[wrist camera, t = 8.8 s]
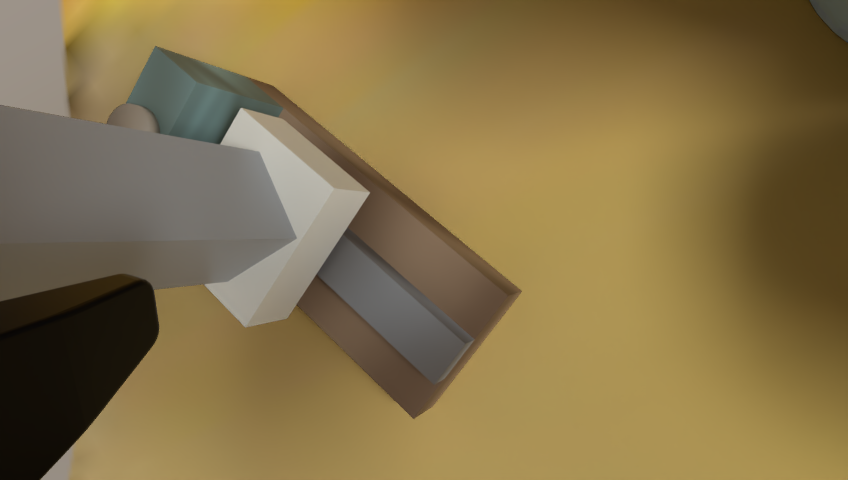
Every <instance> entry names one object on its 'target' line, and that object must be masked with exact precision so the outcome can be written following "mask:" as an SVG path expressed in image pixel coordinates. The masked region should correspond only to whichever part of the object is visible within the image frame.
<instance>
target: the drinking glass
mask: <svg viewBox="0 0 848 480" xmlns="http://www.w3.org/2000/svg"><path fill="white" fill-rule="evenodd" d="M809 1H810V2H811V4H812V6H813V7H814V9H815V11H816V12H817V14H818V15H819V16H820V17H821V18H822V20H823V21H824V22H825V23H826V24H827V25H828V26H829V27H830V28H831V30H832V31H833V32H834V33H836V34H837V35H838V36H840V37H841V38H842V39H843V40H845V41H846V42H847V43H848V0H809Z"/></svg>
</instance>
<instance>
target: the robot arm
mask: <svg viewBox="0 0 848 480" xmlns="http://www.w3.org/2000/svg"><path fill="white" fill-rule="evenodd" d="M158 333H159V322H158V315H157V308H156V302H155V295H154V289H153V287H152V285H151V283H150V282H148V281H147V280H145V279H142V278H139V277H136V276H133V275H130V274H116V275H111V276H107V277H103V278H98V279H94V280H90V281H85V282H81V283H77V284H72V285H68V286H64V287H60V288H55V289H51V290H47V291H42V292H38V293H34V294H29V295H25V296H21V297H16V298H12V299H8V300H3V301H0V480H40V479H41V478H42V477H43V476H44V475H45V474H46V473H47V472H48V471H49V470H50V469H51V468H52V467H53V465H54V464H55V463H56V462H57V461H58V460H59V459H60V458H61V457H62V456H63V455H64V454H65V453H66V452H67V451H68V450H69V449H70V447H71V446H72V445H73V444H74V443H75V442H76V441H77V440H78V439H79V438H80V437H81V435H82V434H83V433H84V432H85V431H86V430H87V429H88V427H89V426H90V425H91V424H92V423H93V421H94V420H95V419H96V418H97V416H98V415H99V414H100V413H101V411H102V410H103V409H104V408H105V406H106V405H107V404H108V402H109V401H110V400H111V399H112V397H113V396H114V395H115V394H116V392H117V391H118V390H119V388H120V387H121V386H122V385H123V383H124V382H125V381H126V379H127V378H128V377H129V376H130V374H131V373H132V372H133V371H134V369H135V368H136V367H137V365H138V364H139V363H140V362H141V360H142V359H143V358H144V356H145V355H146V354H147V353H148V351H149V350H150V349H151V347H152V346H153V345H154V343H155V341H156V339H157V337H158Z"/></svg>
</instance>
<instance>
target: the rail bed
mask: <svg viewBox="0 0 848 480" xmlns="http://www.w3.org/2000/svg"><path fill="white" fill-rule="evenodd" d="M240 108H244V109H248V110H252V111H255V112H259V113H263V114H266V115H270V116H274V117H278V118H281V119H284V120H285V121H286V122H287V123H288V124H290V125H291V126H292V127H293V128H294V129H296V130H297V131H298V132H299V133H300V134H301V135H303V136H304V137H305V138H306V139H307V140H309V141H310V142H311V143H312V144H313V145H314V146H316V147H317V148H318V149H319V150H320V151H322V152H323V153H324V154H325V155H326V156H328V157H329V158H330V159H331V160H332V161H333V162H335V163H336V164H337V165H338V166H339V167H341V168H342V169H343V170H344V171H345V172H346V173H348V174H349V175H350V176H351V177H352V178H354V179H355V180H356V181H357V182H358V183H360V184H361V185H362V186H363V187H364V188H365V189H367V190H368V191H369V192H370V194H369V195H368V197H367V198H366V200H365V201H364V203H363V204H362V206H361V207H360V209H359V210H358V212H357V213H356V215H355V216H354V218H353V219H352V221H351V223H350V224H349V226H348V227H347V229H346V230H345V232H344V233H343V235H342V236H341V238H340V239H339V241H338V242H337V244H336V245H335V247H334V248H333V250H332V251H331V253H330V254H329V256H328V257H327V259H326V260H325V262H324V263H323V265H322V266H321V268H320V270H319V271H318V273H317V274H316V276H315V277H314V279H313V280H312V282H311V283H310V285H309V286H308V288H307V289H306V291H305V292H304V294H303V295H302V297H301V298H300V300H299V301H298V303H297V305H298V306H299V307H300V308H301V309H302V310H303V311H304V312H305V313H306V314H307V315H308V316H309V317H310V318H311V319H312V320H313V321H314V322H315V323H316V324H317V325H318V326H319V327H320V328H321V329H322V330H323V331H324V332H325V333H326V334H327V335H328V336H329V337H330V338H331V339H332V340H333V341H334V342H335V343H336V344H337V345H338V346H340V347H341V348H342V349H343V350H344V351H345V352H346V353H347V354H348V355H349V356H350V357H351V358H352V359H353V360H354V361H355V362H356V363H357V364H358V365H359V366H360V367H361V368H362V369H363V370H364V371H365V372H366V373H367V374H368V375H369V376H370V377H371V378H372V379H373V380H374V381H375V382H376V383H377V384H378V385H379V386H380V387H381V388H383V389H384V390H385V391H386V392H387V393H388V394H389V395H390V396H391V397H392V398H393V399H394V400H395V401H396V402H397V403H398V404H399V405H400V406H401V407H402V408H403V409H404V410H405V411H406V412H407V413H408V414H409V415H410V416H411V417H412V418H413V419H414V418H416V417H417V416H419V415H420V414H422V413H423V412H425V411H426V410H428V409H429V408H431V407H433V405H434V404H435V403H436V401H437V400H438V399H439V398H440V396H441V395H442V394H443V392H444V391H445V390H446V389H447V387H448V386H449V385H450V383H451V382H452V381H453V380H454V378H455V377H456V376H457V374H458V373H459V372H460V370H461V369H462V368H463V367H464V365H465V364H466V363H467V361H468V360H469V359H470V358H471V356H472V355H473V354H474V352H475V351H476V350H477V349H478V347H479V346H480V345H481V343H482V342H483V341H484V340H485V338H486V337H487V336H488V334H489V333H490V332H491V331H492V329H493V328H494V327H495V325H496V324H497V323H498V322H499V320H500V319H501V318H502V316H503V315H504V314H505V313H506V311H507V310H508V309H509V307H510V306H511V305H512V303H513V302H514V301H515V300H516V298H517V297H518V296H519V294H520V293H521V292H522V291H521V290H520V289H518V288H517V287H516V286H515V285H514V284H512V283H511V282H510V281H509V280H508V279H506V278H505V277H504V276H503V275H502V274H500V273H499V272H498V271H497V270H495V269H494V268H493V267H492V266H491V265H489V264H488V263H487V262H486V261H485V260H483V259H482V258H481V257H480V256H479V255H477V254H476V253H475V252H474V251H472V250H471V249H470V248H469V247H468V246H466V245H465V244H464V243H463V242H462V241H460V240H459V239H458V238H457V237H455V236H454V235H453V234H452V233H451V232H449V231H448V230H447V229H446V228H445V227H443V226H442V225H441V224H440V223H439V222H437V221H436V220H435V219H434V218H432V217H431V216H430V215H429V214H428V213H426V212H425V211H424V210H423V209H422V208H420V207H419V206H418V205H417V204H415V203H414V202H413V201H412V200H411V199H409V198H408V197H407V196H406V195H405V194H403V193H402V192H401V191H400V190H399V189H397V188H396V187H395V186H394V185H392V184H391V183H390V182H389V181H388V180H386V179H385V178H384V177H383V176H382V175H380V174H379V173H378V172H377V171H376V170H374V169H373V168H372V167H371V166H369V165H368V164H367V163H366V162H365V161H363V160H362V159H361V158H360V157H359V156H357V155H356V154H355V153H354V152H352V151H351V150H350V149H349V148H348V147H346V146H345V145H344V144H343V143H342V142H340V141H339V140H338V139H337V138H336V137H334V136H333V135H332V134H331V133H329V132H328V131H327V130H326V129H325V128H323V127H322V126H321V125H320V124H319V123H317V122H316V121H315V120H314V119H312V118H311V117H310V116H309V115H308V114H306V113H305V112H304V111H303V110H302V109H300V108H299V107H298V106H297V105H296V104H294V103H293V102H292V101H291V100H289V99H288V98H287V97H286V96H285V95H283V94H282V93H281V92H280V91H279V90H277V89H276V88H275V87H274V86H272V85H269V84H266V83H263V82H260V81H257V80H254V79H251V78H248V77H245V76H242V75H239V74H236V73H233V72H230V71H227V70H224V69H222V68H219V67H216V66H213V65H210V64H207V63H204V62H201V61H198V60H195V59H192V58H189V57H186V56H183V55H180V54H177V53H174V52H171V51H168V50H166V49H163V48H160V47H157V46H155V48H154V50H153V52H152V54H151V55H150V57H149V59H148V61H147V63H146V65H145V67H144V69H143V71H142V73H141V75H140V77H139V79H138V81H137V83H136V85H135V87H134V89H133V91H132V93H131V95H130V97H129V98H128V100H127V102H126V104H122V105H120V106H118V107H117V108H116V109H115V110H114V111H113V112H112V113H111V115H110V117H109V119H108V121H107V124H109V125H114V126H120V127H125V128H131V129H136V130H142V131H148V132H153V133H159V134H164V135H170V136H175V137H181V138H186V139H192V140H197V141H203V142H209V143H214V144H221V142H222V140H223V138H224V137H225V135H226V133H227V131H228V130H229V128H230V126H231V124H232V123H233V121H234V119H235V117H236V115H237V114H238V112H239V110H240Z"/></svg>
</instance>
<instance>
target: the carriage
mask: <svg viewBox="0 0 848 480" xmlns="http://www.w3.org/2000/svg"><path fill="white" fill-rule="evenodd" d="M369 194H370V192H369V191H368V190H367V189H365V188H364V187H363V186H362V185H361V184H360V183H358V182H357V181H356V180H355V179H354V178H352V177H351V176H350V175H349V174H348V173H346V172H345V171H344V170H343V169H342V168H341V167H339V166H338V165H337V164H336V163H335V162H333V161H332V160H331V159H330V158H329V157H328V156H326V155H325V154H324V153H323V152H322V151H320V150H319V149H318V148H317V147H316V146H314V145H313V144H312V143H311V142H310V141H309V140H307V139H306V138H305V137H304V136H303V135H301V134H300V133H299V132H298V131H297V130H296V129H294V128H293V127H292V126H291V125H290V124H288V123H287V122H286V121H285V120H284V119H281V118H278V117H274V116H270V115H266V114H263V113H259V112H255V111H252V110H248V109H244V108H240V110H239V112H238V114H237V115H236V117H235V119H234V121H233V123H232V124H231V126H230V128H229V130H228V131H227V133H226V135H225V137H224V138H223V140H222V142H221V144H214V143H209V142H203V141H197V140H192V139H186V138H181V137H175V136H170V135H164V134H159V133H153V132H148V131H142V130H136V129H131V128H125V127H120V126H114V125H109V124H103V123H98V122H92V121H86V120H81V119H75V118H70V117H64V116H59V115H53V114H47V113H42V112H36V111H31V110H25V109H20V108H14V107H9V106H3V105H0V301H3V300H8V299H12V298H16V297H21V296H25V295H29V294H34V293H38V292H42V291H47V290H51V289H55V288H60V287H64V286H68V285H72V284H77V283H81V282H85V281H90V280H94V279H98V278H103V277H107V276H111V275H116V274H130V275H133V276H136V277H139V278H142V279H145V280H147V281H148V282H150V283H151V285H152V287H153V289H154V290H155V289H164V288H174V287H183V286H193V285H202V284H204V285H205V286H206V287H207V288H208V289H209V290H210V291H211V292H212V294H213V295H214V296H215V297H216V298H217V299H218V300H219V301H220V302H221V303H222V304H223V305H224V306H225V307H226V308H227V309H228V310H229V311H230V312H231V313H232V314H233V315H234V316H235V317H236V318H237V319H238V320H239V321H240V322H241V324H242V325H243V326H244V327H250V326H255V325H260V324H264V323H269V322H274V321H279V320H283V319H287V318H288V317H289V315H290V313H291V312H292V310H293V309H294V307H295V306H296V304H297V303H298V301H299V300H300V298H301V297H302V295H303V294H304V292H305V291H306V289H307V288H308V286H309V285H310V283H311V282H312V280H313V279H314V277H315V276H316V274H317V273H318V271H319V270H320V268H321V266H322V265H323V263H324V262H325V260H326V259H327V257H328V256H329V254H330V253H331V251H332V250H333V248H334V247H335V245H336V244H337V242H338V241H339V239H340V238H341V236H342V235H343V233H344V232H345V230H346V229H347V227H348V226H349V224H350V223H351V221H352V219H353V218H354V216H355V215H356V213H357V212H358V210H359V209H360V207H361V206H362V204H363V203H364V201H365V200H366V198H367V197H368V195H369Z"/></svg>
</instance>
